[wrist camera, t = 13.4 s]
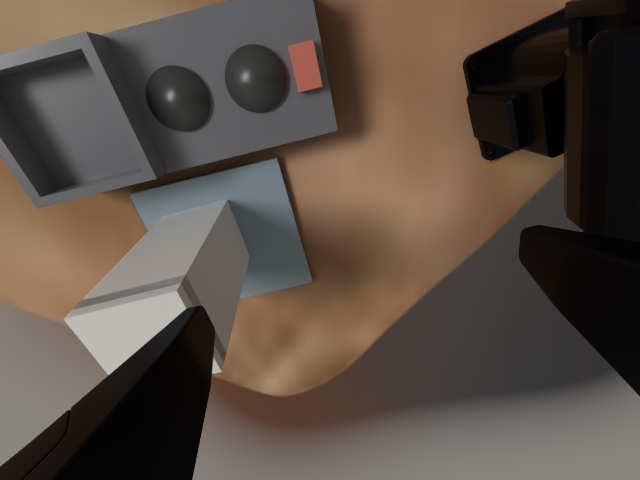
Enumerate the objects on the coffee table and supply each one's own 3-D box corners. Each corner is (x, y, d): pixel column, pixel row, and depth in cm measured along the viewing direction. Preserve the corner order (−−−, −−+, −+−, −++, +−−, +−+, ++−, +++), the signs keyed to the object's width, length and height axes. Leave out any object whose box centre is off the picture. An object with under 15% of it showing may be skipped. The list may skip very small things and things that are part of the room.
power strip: (306, -7, 16) (310, -32, 13) (332, 125, 19) (341, 134, 16) (15, 70, 17) (-60, 67, 13) (84, 187, 20) (38, 210, 16)
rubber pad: (277, 156, 20) (276, 158, 19) (312, 279, 24) (312, 282, 24) (131, 192, 20) (129, 194, 20) (192, 307, 24) (191, 310, 24)
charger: (227, 199, 20) (176, 290, 11) (249, 256, 22) (221, 371, 13) (162, 216, 21) (63, 318, 12) (190, 271, 23) (124, 394, 14)
